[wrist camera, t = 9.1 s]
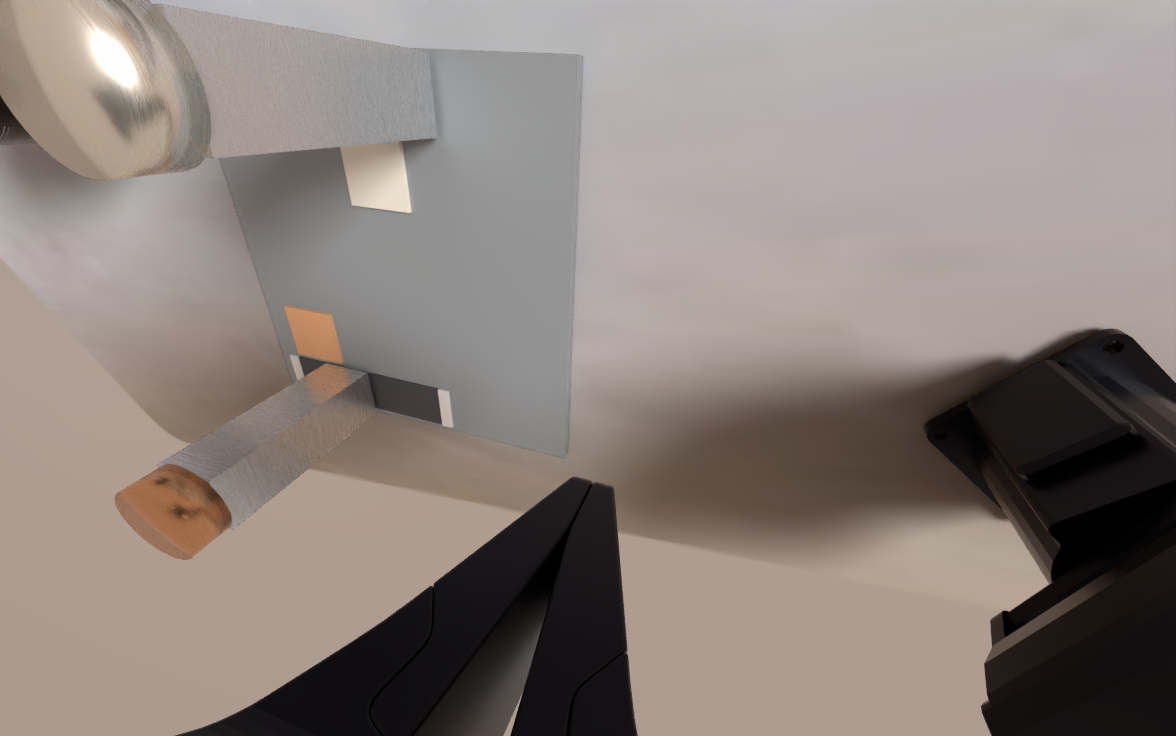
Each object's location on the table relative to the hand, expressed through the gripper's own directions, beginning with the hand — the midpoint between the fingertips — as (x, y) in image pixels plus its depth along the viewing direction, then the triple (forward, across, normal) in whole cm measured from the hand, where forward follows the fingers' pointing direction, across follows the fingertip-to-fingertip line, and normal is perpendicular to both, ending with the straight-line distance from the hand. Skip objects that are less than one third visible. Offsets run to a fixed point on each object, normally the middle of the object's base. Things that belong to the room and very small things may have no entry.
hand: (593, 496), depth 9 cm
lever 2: (+11, +18, +8) cm, 23 cm away
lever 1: (+11, +11, -6) cm, 17 cm away
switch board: (+12, +14, +1) cm, 18 cm away
